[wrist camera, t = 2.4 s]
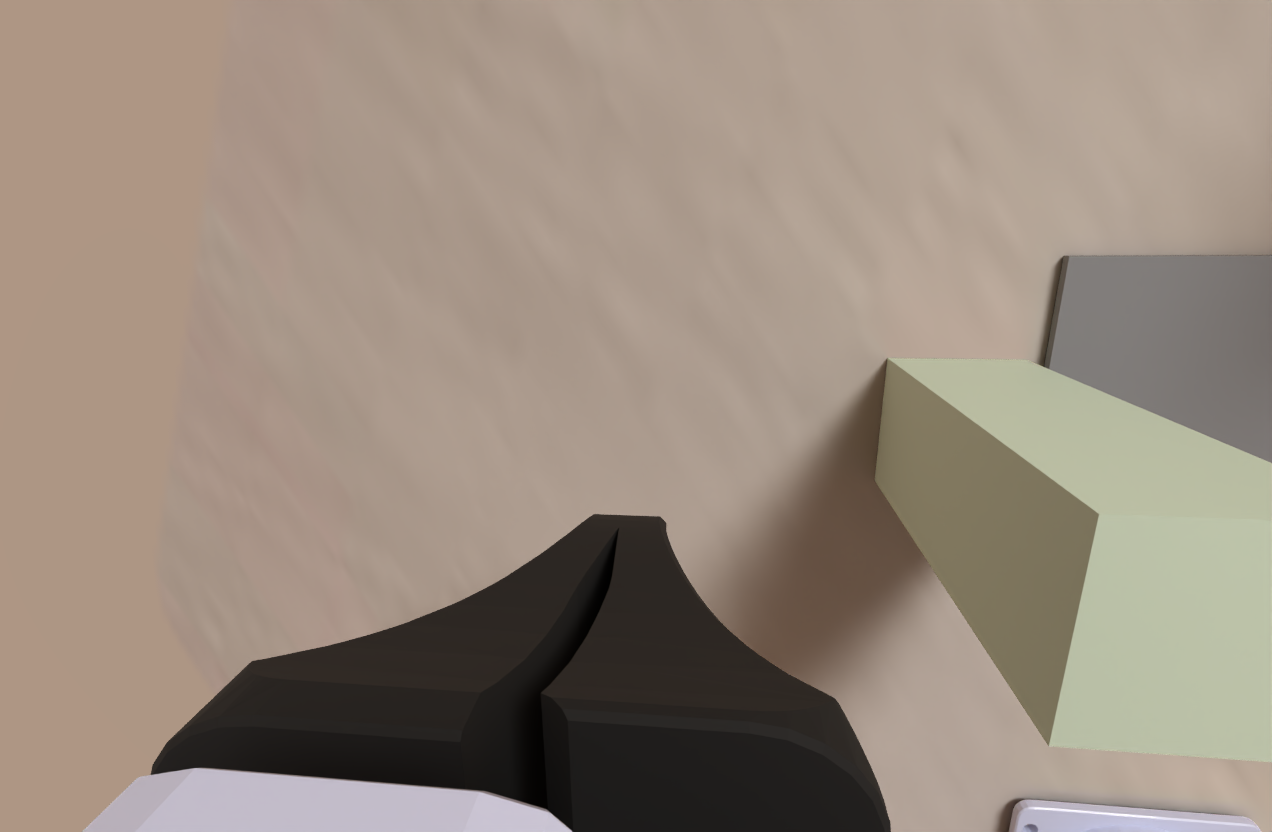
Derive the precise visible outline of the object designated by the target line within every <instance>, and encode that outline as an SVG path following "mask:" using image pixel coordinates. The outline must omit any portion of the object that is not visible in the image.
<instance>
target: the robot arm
mask: <svg viewBox="0 0 1272 832" xmlns="http://www.w3.org/2000/svg"><path fill="white" fill-rule="evenodd" d="M1027 824H1029V825H1027ZM82 832H891V828H890V820H889V817H888V814H887V810H886V806H885V803H884V799H883V797H882V794H881V791H880V788H879V785H878V782H877V780H876V778H875V775H874V773H873V771H872V768H871V766H870V764H869V762H868V760H867V758H866V755H865V753H864V751H863V749H862V747H861V745H860V743H859V741H858V739H857V737H856V735H855V733H854V731H853V729H852V727H851V725H850V723H849V721H848V720H847V718H846V716H845V714H844V712H843V710H842V709H841V707H840V705H839V703H838V702H837V701H836V699H835V698H833V697H831V696H829V695H827V694H825V693H823V692H822V691H820V690H818V689H816V688H814V687H812V686H810V685H808V684H806V683H804V682H802V681H800V680H798V679H797V678H795V677H793V676H791V675H789V674H787V673H785V672H784V671H782V670H781V669H779V668H778V667H776V666H775V665H773V664H772V663H770V662H769V661H767V660H766V659H764V658H763V657H761V656H760V655H758V654H757V653H756V652H754V651H753V650H752V649H750V648H749V647H748V646H746V645H745V644H744V643H743V642H742V641H740V640H739V639H738V638H737V637H736V636H735V635H734V634H732V633H731V632H730V631H729V630H728V629H727V628H726V627H725V626H724V625H723V624H722V623H721V622H720V621H719V620H718V619H717V618H716V616H715V615H714V614H713V613H712V612H711V611H710V609H709V608H708V607H707V606H706V605H705V603H704V602H703V601H702V599H701V598H700V597H699V595H698V594H697V592H696V591H695V589H694V588H693V586H692V585H691V583H690V582H689V580H688V579H687V577H686V575H685V573H684V572H683V570H682V568H681V566H680V564H679V562H678V560H677V558H676V556H675V554H674V552H673V550H672V548H671V545H670V542H669V539H668V536H667V532H666V522H665V521H664V520H663V519H662V518H661V517H654V516H627V515H599V514H594V515H592V516H591V517H589V518H588V519H586V520H585V521H584V522H582V523H581V524H580V525H579V526H577V527H576V528H575V529H573V530H572V531H571V532H570V533H568V534H567V535H566V536H564V537H563V538H562V539H560V540H559V541H558V542H556V543H555V544H554V545H552V546H551V547H550V548H548V549H547V550H546V551H544V552H543V553H542V554H540V555H539V556H537V557H536V558H534V559H532V560H531V561H529V562H528V563H526V564H525V565H523V566H522V567H520V568H519V569H517V570H516V571H514V572H513V573H511V574H510V575H508V576H507V577H505V578H503V579H501V580H500V581H498V582H496V583H494V584H493V585H491V586H489V587H487V588H485V589H483V590H481V591H479V592H477V593H475V594H473V595H471V596H469V597H467V598H465V599H463V600H461V601H459V602H457V603H455V604H452V605H450V606H447V607H445V608H442V609H440V610H437V611H435V612H432V613H430V614H427V615H425V616H422V617H420V618H417V619H415V620H412V621H410V622H407V623H405V624H402V625H399V626H396V627H392V628H389V629H386V630H383V631H380V632H377V633H374V634H370V635H367V636H363V637H360V638H356V639H352V640H349V641H345V642H341V643H337V644H333V645H329V646H325V647H320V648H316V649H311V650H306V651H301V652H296V653H292V654H287V655H282V656H277V657H272V658H267V659H262V660H256V661H252V662H251V663H249V664H248V665H247V666H246V667H245V668H244V669H243V670H242V671H241V672H240V673H239V674H238V675H237V676H236V677H235V678H234V679H233V680H232V681H231V682H230V683H229V684H228V685H226V686H225V687H224V688H223V689H222V690H221V691H220V692H219V693H218V694H217V695H216V696H215V697H214V698H213V699H212V700H211V701H210V702H209V703H208V704H207V705H206V706H205V707H204V708H202V709H201V710H200V711H199V712H198V713H197V714H196V715H195V716H194V717H193V718H192V719H191V720H190V721H189V722H188V723H187V724H186V725H185V726H184V727H183V728H182V729H181V730H180V731H178V732H177V734H176V735H174V736H173V737H172V738H171V739H170V740H169V741H168V742H167V743H166V745H165V747H164V748H163V750H162V751H161V753H160V754H159V756H158V757H157V759H156V761H155V762H154V764H153V766H152V771H151V775H149V776H142V777H138V778H137V779H136V780H135V781H134V782H133V783H132V784H131V785H130V786H129V787H128V788H127V789H125V790H124V791H123V792H122V793H121V794H120V795H119V796H118V797H117V798H116V799H115V800H114V801H113V802H112V803H111V804H110V805H109V806H108V807H107V808H106V809H105V810H104V811H103V812H102V813H101V814H100V815H99V816H98V817H97V818H96V819H95V820H93V821H92V823H91V824H89V825H88V826H87V827H86V828H85V829H84V830H83V831H82ZM1009 832H1261V830H1260V828H1259V827H1258V826H1257V825H1256V824H1255V823H1254V822H1253V821H1252V820H1251V819H1249V818H1247V817H1243V816H1231V815H1218V814H1206V813H1193V812H1181V811H1168V810H1156V809H1143V808H1131V807H1118V806H1106V805H1093V804H1080V803H1068V802H1055V801H1043V800H1030V799H1028V800H1022V801H1020V802H1018V803H1017V804H1016V805H1015V807H1014V809H1013V813H1012V818H1011V823H1010V828H1009Z"/></svg>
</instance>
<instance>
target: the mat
mask: <svg viewBox="0 0 1272 832" xmlns="http://www.w3.org/2000/svg"><path fill="white" fill-rule="evenodd" d="M1044 367H1045V368H1047V369H1050V370H1052V371H1054V372H1057V373H1059V374H1062V375H1064V376H1066V377H1069V378H1071V379H1073V380H1076V381H1078V382H1081V383H1083V384H1085V385H1088V386H1090V387H1092V388H1095V389H1097V390H1100V391H1102V392H1104V393H1107V394H1109V395H1111V396H1114V397H1116V398H1118V399H1121V400H1123V401H1126V402H1128V403H1130V404H1133V405H1135V406H1137V407H1140V408H1142V409H1145V410H1147V411H1149V412H1152V413H1154V414H1156V415H1159V416H1161V417H1164V418H1166V419H1168V420H1171V421H1173V422H1175V423H1178V424H1180V425H1183V426H1185V427H1187V428H1190V429H1192V430H1194V431H1197V432H1199V433H1201V434H1204V435H1206V436H1209V437H1211V438H1213V439H1216V440H1218V441H1220V442H1223V443H1225V444H1228V445H1230V446H1232V447H1235V448H1237V449H1239V450H1242V451H1244V452H1247V453H1249V454H1251V455H1254V456H1256V457H1258V458H1261V459H1263V460H1266V461H1268V462H1270V463H1272V255H1170V256H1064V257H1063V262H1062V268H1061V274H1060V279H1059V285H1058V291H1057V296H1056V302H1055V308H1054V313H1053V319H1052V325H1051V330H1050V336H1049V342H1048V347H1047V353H1046V359H1045V364H1044Z"/></svg>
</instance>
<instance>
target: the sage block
mask: <svg viewBox="0 0 1272 832" xmlns="http://www.w3.org/2000/svg"><path fill="white" fill-rule="evenodd" d="M875 482H876V484H877V485H878V487H879V488H880V490H881V491H882V493H883V494H884V496H885V497H886V499H887V500H888V502H889V503H890V505H891V507H892V508H893V510H894V511H895V513H896V514H897V516H898V517H899V519H900V520H901V522H902V523H903V525H904V526H905V528H906V529H907V531H908V532H909V534H910V535H911V537H912V539H913V540H914V542H915V543H916V545H917V546H918V548H919V549H920V551H921V552H922V554H923V555H924V557H925V558H926V560H927V561H928V563H929V564H930V566H931V567H932V569H933V571H934V572H935V574H936V575H937V577H938V578H939V580H940V581H941V583H942V584H943V586H944V587H945V589H946V590H947V592H948V593H949V595H950V596H951V598H952V599H953V601H954V603H955V604H956V606H957V607H958V609H959V610H960V612H961V613H962V615H963V616H964V618H965V619H966V621H967V622H968V624H969V625H970V627H971V628H972V630H973V632H974V633H975V635H976V636H977V638H978V639H979V641H980V642H981V644H982V645H983V647H984V648H985V650H986V651H987V653H988V654H989V656H990V657H991V659H992V660H993V662H994V664H995V665H996V667H997V668H998V670H999V671H1000V673H1001V674H1002V676H1003V677H1004V679H1005V680H1006V682H1007V683H1008V685H1009V686H1010V688H1011V689H1012V691H1013V692H1014V694H1015V696H1016V697H1017V699H1018V700H1019V702H1020V703H1021V705H1022V706H1023V708H1024V709H1025V711H1026V712H1027V714H1028V715H1029V717H1030V718H1031V720H1032V721H1033V723H1034V725H1035V726H1036V728H1037V729H1038V731H1039V732H1040V734H1041V735H1042V737H1043V738H1044V740H1045V741H1046V743H1047V744H1048V746H1052V747H1066V748H1080V749H1094V750H1108V751H1122V752H1136V753H1150V754H1164V755H1178V756H1192V757H1206V758H1220V759H1234V760H1248V761H1262V762H1272V463H1270V462H1268V461H1266V460H1263V459H1261V458H1258V457H1256V456H1254V455H1251V454H1249V453H1247V452H1244V451H1242V450H1239V449H1237V448H1235V447H1232V446H1230V445H1228V444H1225V443H1223V442H1220V441H1218V440H1216V439H1213V438H1211V437H1209V436H1206V435H1204V434H1201V433H1199V432H1197V431H1194V430H1192V429H1190V428H1187V427H1185V426H1183V425H1180V424H1178V423H1175V422H1173V421H1171V420H1168V419H1166V418H1164V417H1161V416H1159V415H1156V414H1154V413H1152V412H1149V411H1147V410H1145V409H1142V408H1140V407H1137V406H1135V405H1133V404H1130V403H1128V402H1126V401H1123V400H1121V399H1118V398H1116V397H1114V396H1111V395H1109V394H1107V393H1104V392H1102V391H1100V390H1097V389H1095V388H1092V387H1090V386H1088V385H1085V384H1083V383H1081V382H1078V381H1076V380H1073V379H1071V378H1069V377H1066V376H1064V375H1062V374H1059V373H1057V372H1054V371H1052V370H1050V369H1047V368H1045V367H1043V366H1040V365H1038V364H1036V363H1033V362H1031V361H1028V360H999V359H921V358H887V367H886V377H885V386H884V396H883V405H882V415H881V424H880V433H879V443H878V452H877V462H876V471H875Z"/></svg>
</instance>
